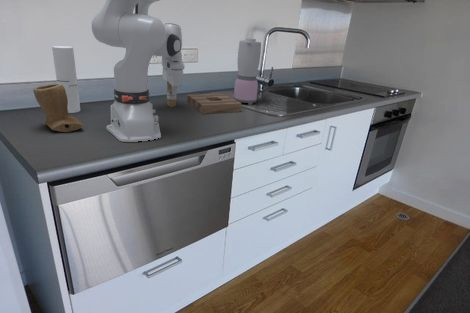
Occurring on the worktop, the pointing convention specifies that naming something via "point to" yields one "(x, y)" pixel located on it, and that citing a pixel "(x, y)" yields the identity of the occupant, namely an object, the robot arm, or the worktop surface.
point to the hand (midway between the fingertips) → (171, 92)
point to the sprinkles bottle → (170, 95)
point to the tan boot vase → (56, 107)
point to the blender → (247, 71)
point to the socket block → (213, 103)
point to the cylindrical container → (67, 75)
